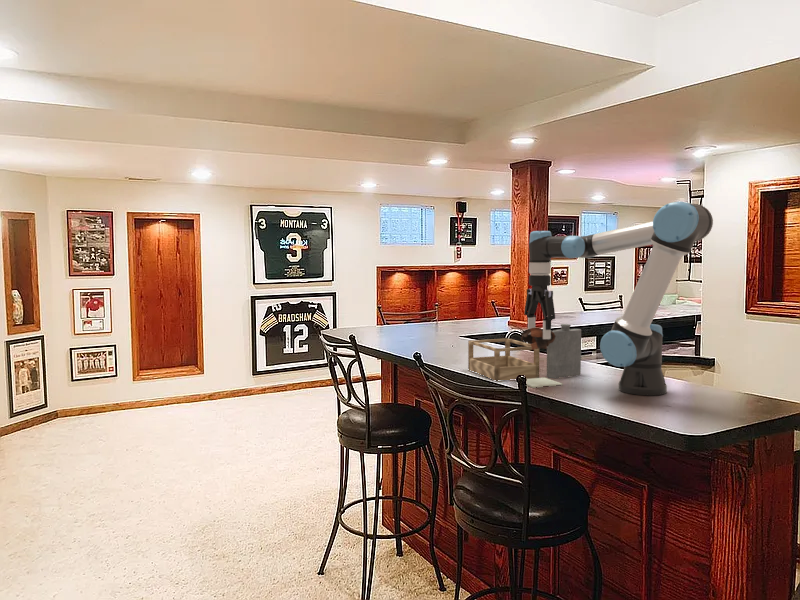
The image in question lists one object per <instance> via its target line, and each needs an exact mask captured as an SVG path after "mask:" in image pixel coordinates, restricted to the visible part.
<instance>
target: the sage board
mask: <svg viewBox="0 0 800 600" xmlns="http://www.w3.org/2000/svg"><path fill="white" fill-rule="evenodd" d="M556 385H561V386H563V385H564V384H563V383H562V382H559V381H556V380H553V379H550V378H547V377H545V376H544V377H539V378H531V379H527V385H526V386H527V387H529V388H533V389H536V387H537V388H544V387H543V386H549V387H557V386H556Z"/></svg>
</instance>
